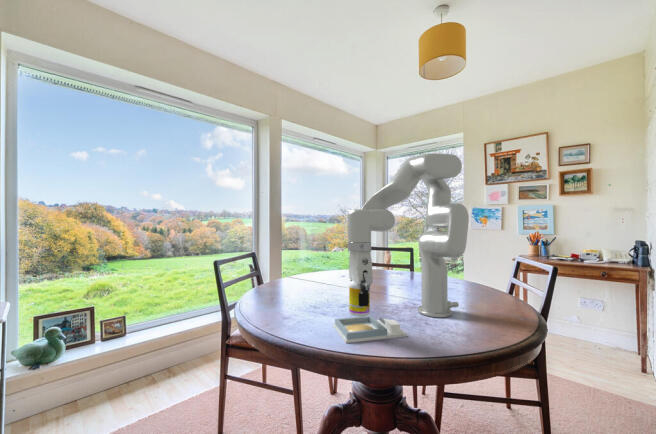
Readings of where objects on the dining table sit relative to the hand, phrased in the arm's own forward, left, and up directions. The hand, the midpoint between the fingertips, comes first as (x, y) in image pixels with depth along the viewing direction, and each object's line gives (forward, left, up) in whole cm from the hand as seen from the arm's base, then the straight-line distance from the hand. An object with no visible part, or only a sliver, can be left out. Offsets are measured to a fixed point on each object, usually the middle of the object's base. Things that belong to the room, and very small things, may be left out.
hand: (359, 302), depth 94 cm
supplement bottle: (0, 0, -4) cm, 4 cm away
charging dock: (-3, 0, -10) cm, 10 cm away
